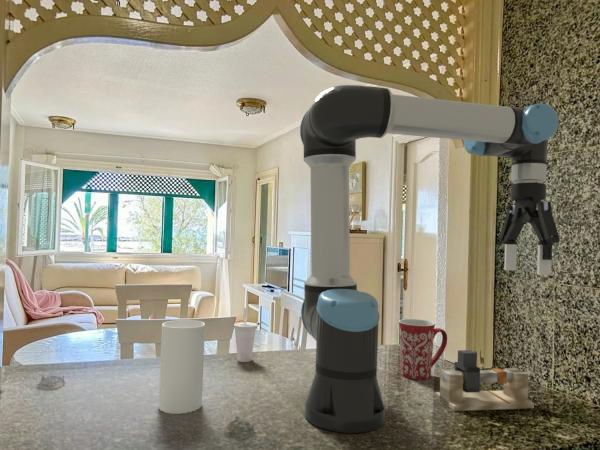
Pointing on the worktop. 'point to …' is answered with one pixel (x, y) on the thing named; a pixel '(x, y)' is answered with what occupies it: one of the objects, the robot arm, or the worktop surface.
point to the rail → (507, 398)
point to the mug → (418, 347)
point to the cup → (181, 366)
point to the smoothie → (245, 339)
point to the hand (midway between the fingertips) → (525, 272)
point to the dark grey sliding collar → (469, 370)
